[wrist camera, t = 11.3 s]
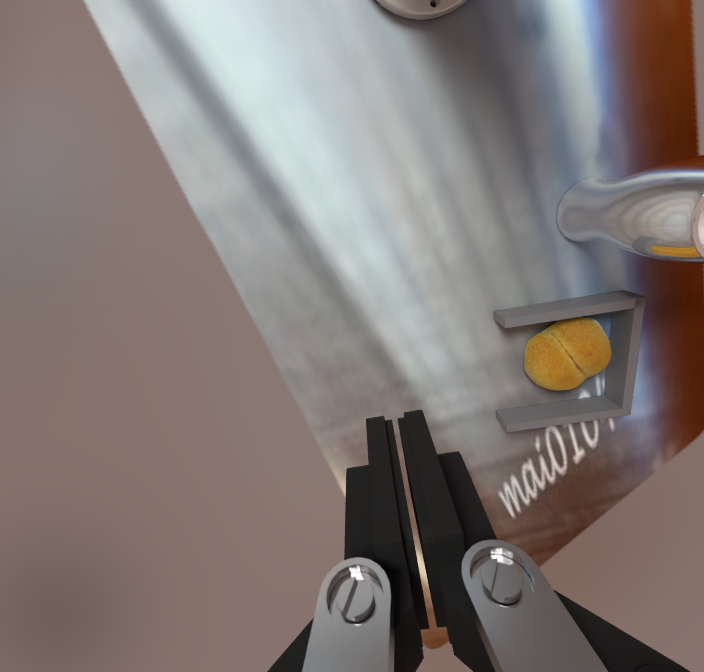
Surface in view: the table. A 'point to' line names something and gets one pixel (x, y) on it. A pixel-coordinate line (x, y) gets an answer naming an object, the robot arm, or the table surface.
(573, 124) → the table surface
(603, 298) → the frame
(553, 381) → the bread roll
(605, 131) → the table surface
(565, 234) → the beer glass
